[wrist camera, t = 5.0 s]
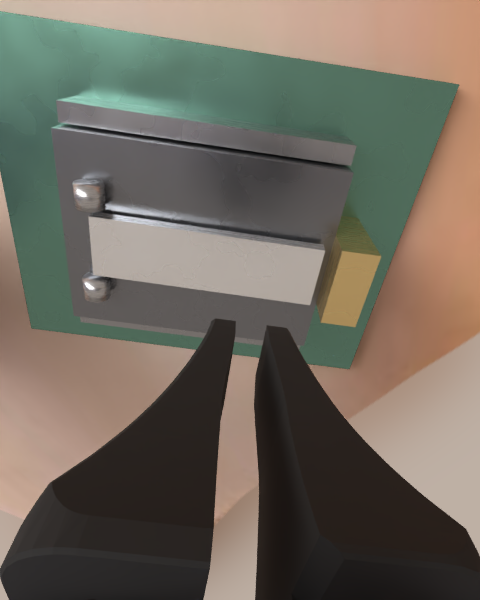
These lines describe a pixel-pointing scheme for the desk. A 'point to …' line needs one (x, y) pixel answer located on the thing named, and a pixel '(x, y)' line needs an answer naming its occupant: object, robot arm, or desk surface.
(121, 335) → the circuit board
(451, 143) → the desk surface
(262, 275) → the grey flat bar
